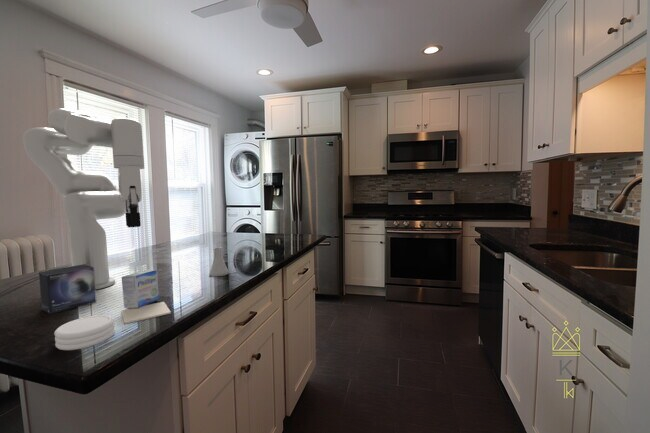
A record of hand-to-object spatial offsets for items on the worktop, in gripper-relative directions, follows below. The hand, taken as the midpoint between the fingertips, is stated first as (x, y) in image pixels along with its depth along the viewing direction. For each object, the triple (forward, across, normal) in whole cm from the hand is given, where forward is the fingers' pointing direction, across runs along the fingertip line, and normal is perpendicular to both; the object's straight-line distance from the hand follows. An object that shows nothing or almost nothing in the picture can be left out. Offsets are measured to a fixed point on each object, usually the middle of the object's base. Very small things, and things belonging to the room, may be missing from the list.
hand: (133, 225), depth 91 cm
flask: (+22, -9, +27) cm, 36 cm away
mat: (+21, +16, 0) cm, 27 cm away
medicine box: (+21, +9, 0) cm, 23 cm away
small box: (+22, -3, -16) cm, 27 cm away
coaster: (+22, +24, -12) cm, 35 cm away
